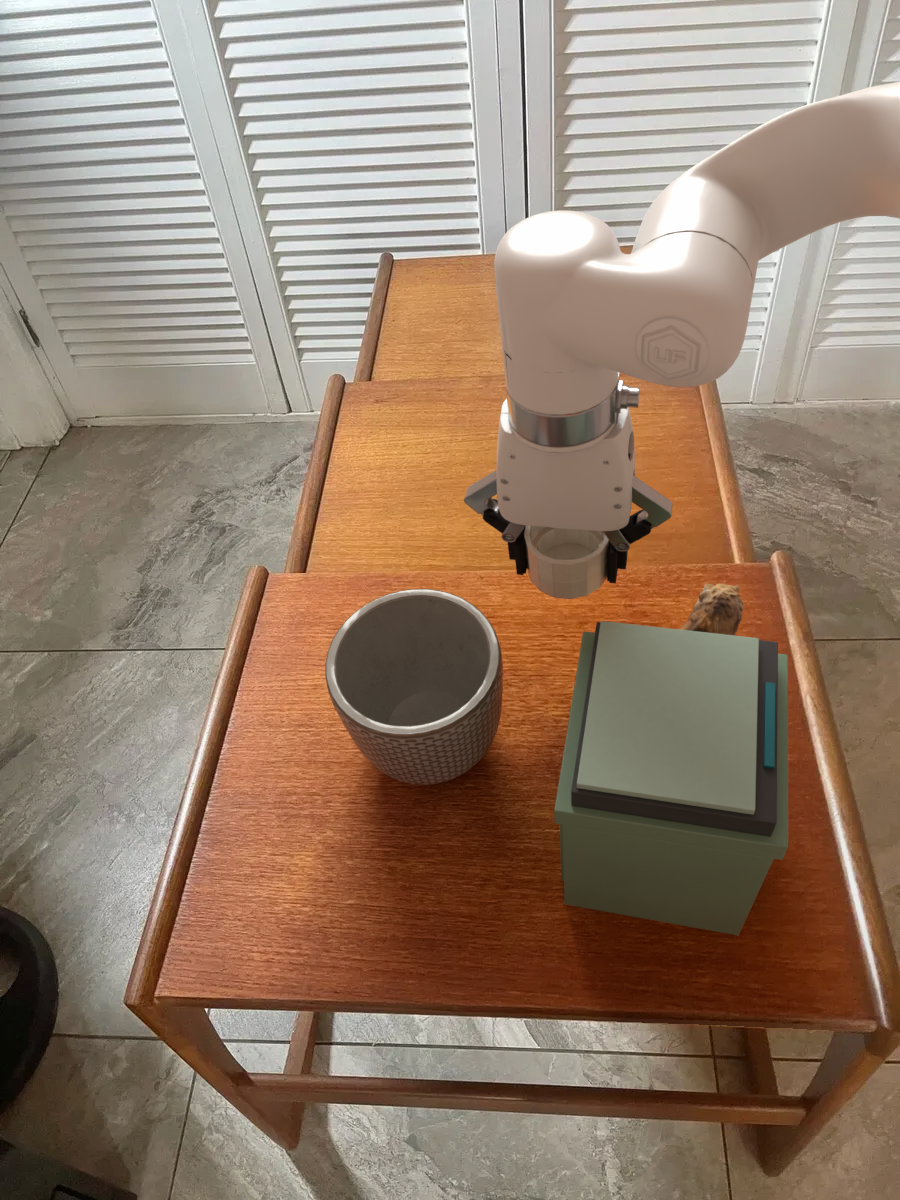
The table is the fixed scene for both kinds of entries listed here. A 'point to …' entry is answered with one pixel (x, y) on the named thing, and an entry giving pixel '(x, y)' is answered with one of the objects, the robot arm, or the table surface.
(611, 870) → the stand
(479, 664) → the planter
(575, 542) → the bowl
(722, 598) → the lion figurine
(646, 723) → the scale
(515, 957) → the table surface
